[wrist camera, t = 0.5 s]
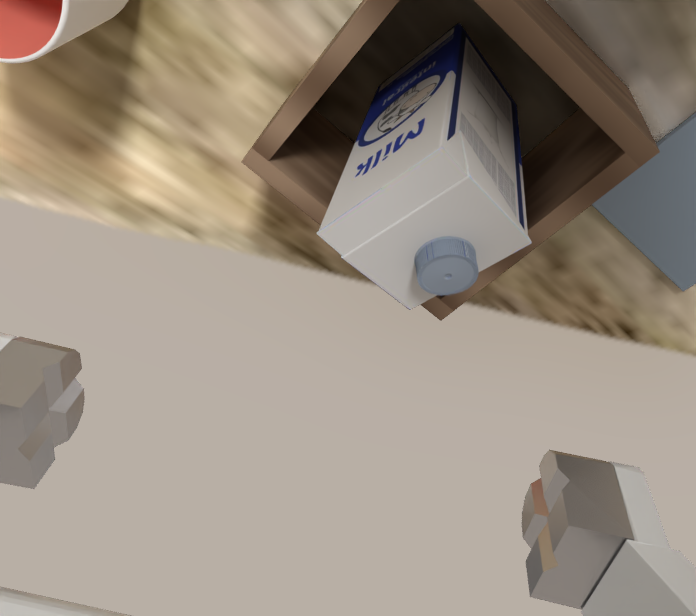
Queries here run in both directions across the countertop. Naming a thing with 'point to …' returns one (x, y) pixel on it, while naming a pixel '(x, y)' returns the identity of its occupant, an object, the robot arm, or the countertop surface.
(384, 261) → the milk carton
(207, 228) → the countertop surface
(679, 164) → the mat
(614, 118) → the crate
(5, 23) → the cup
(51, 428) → the robot arm
